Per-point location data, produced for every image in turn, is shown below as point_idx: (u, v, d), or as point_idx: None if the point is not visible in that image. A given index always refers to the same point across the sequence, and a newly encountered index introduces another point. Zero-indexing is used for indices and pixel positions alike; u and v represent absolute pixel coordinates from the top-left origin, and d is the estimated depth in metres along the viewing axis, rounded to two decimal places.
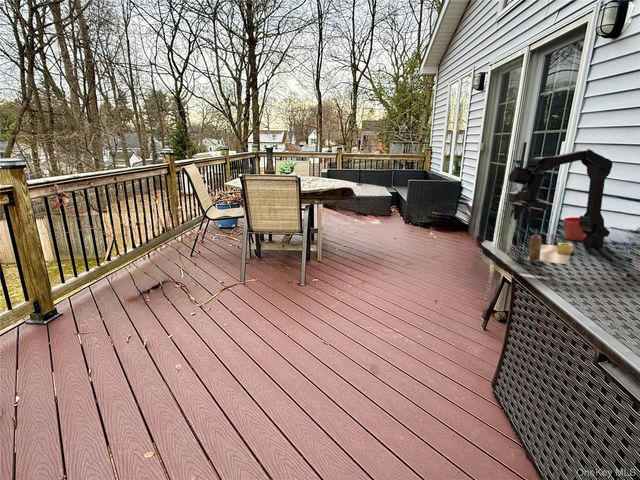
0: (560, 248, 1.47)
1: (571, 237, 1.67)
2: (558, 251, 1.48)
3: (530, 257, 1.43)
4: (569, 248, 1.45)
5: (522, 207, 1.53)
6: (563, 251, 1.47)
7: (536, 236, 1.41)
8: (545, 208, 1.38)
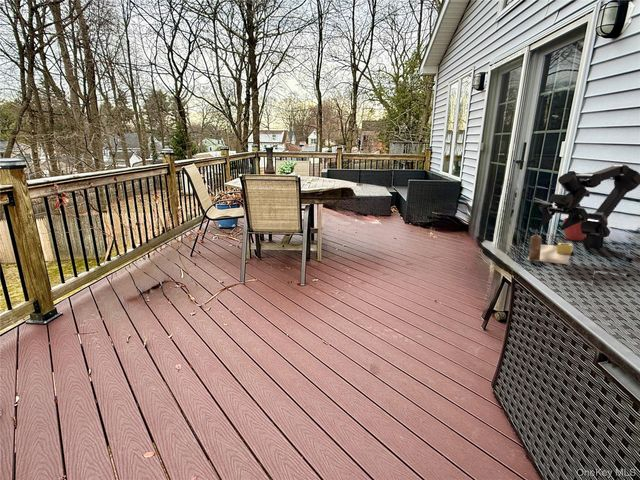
0: (560, 248, 1.47)
1: (571, 237, 1.67)
2: (558, 251, 1.48)
3: (530, 257, 1.43)
4: (569, 248, 1.45)
5: (550, 217, 1.48)
6: (563, 251, 1.47)
7: (536, 236, 1.41)
8: (586, 219, 1.35)
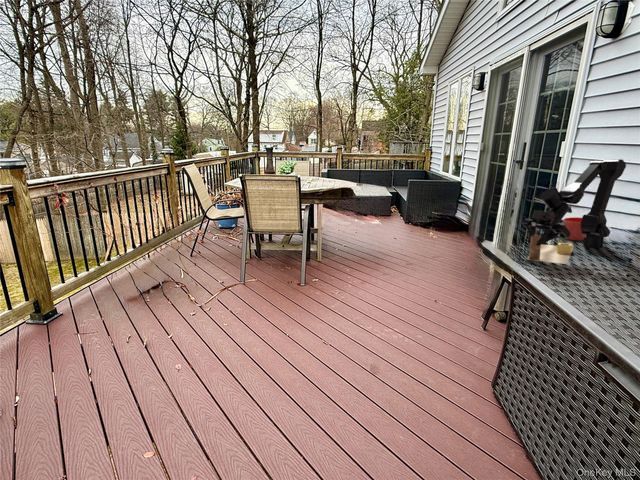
0: (560, 248, 1.47)
1: (571, 237, 1.67)
2: (558, 251, 1.48)
3: (530, 257, 1.43)
4: (569, 248, 1.45)
5: (538, 234, 1.45)
6: (563, 251, 1.47)
7: (536, 236, 1.41)
8: (568, 236, 1.34)
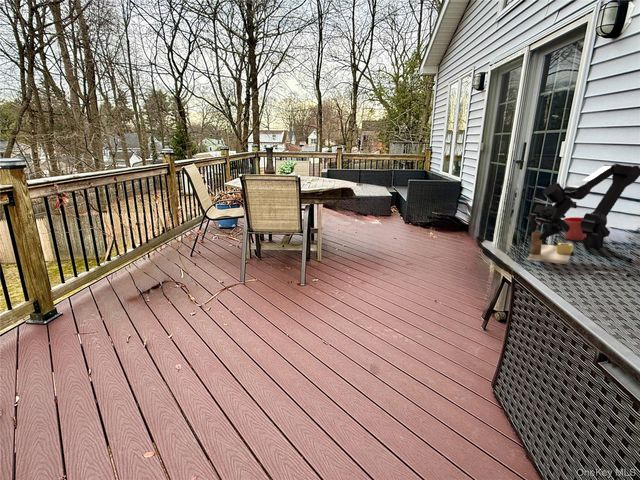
0: (560, 248, 1.47)
1: (571, 237, 1.67)
2: (558, 251, 1.48)
3: (531, 252, 1.49)
4: (569, 248, 1.45)
5: (539, 227, 1.51)
6: (563, 251, 1.47)
7: (537, 232, 1.46)
8: (567, 230, 1.38)
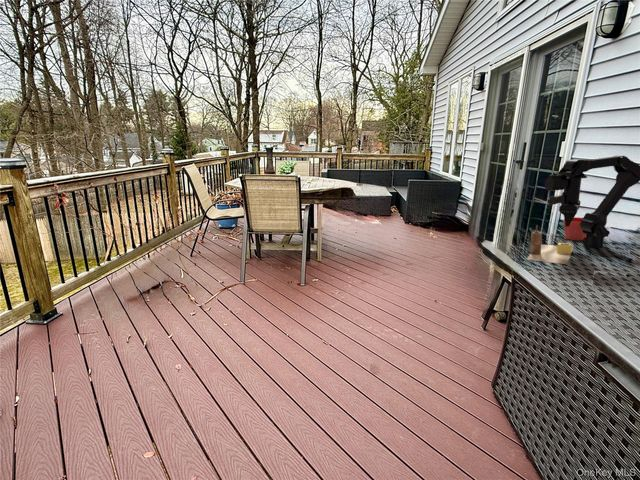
0: (560, 248, 1.47)
1: (571, 237, 1.67)
2: (558, 251, 1.48)
3: (531, 252, 1.49)
4: (569, 248, 1.45)
5: None
6: (563, 251, 1.47)
7: (536, 232, 1.46)
8: (573, 210, 1.40)
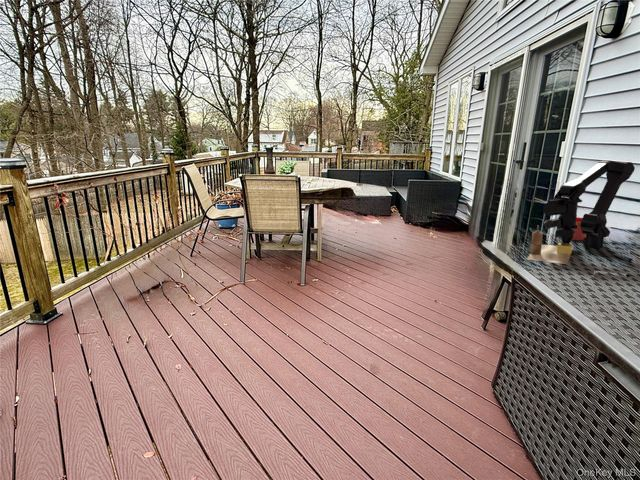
0: (560, 248, 1.47)
1: None
2: (558, 252, 1.47)
3: (531, 252, 1.49)
4: (569, 249, 1.45)
5: None
6: (563, 252, 1.46)
7: (537, 232, 1.46)
8: (569, 236, 1.40)
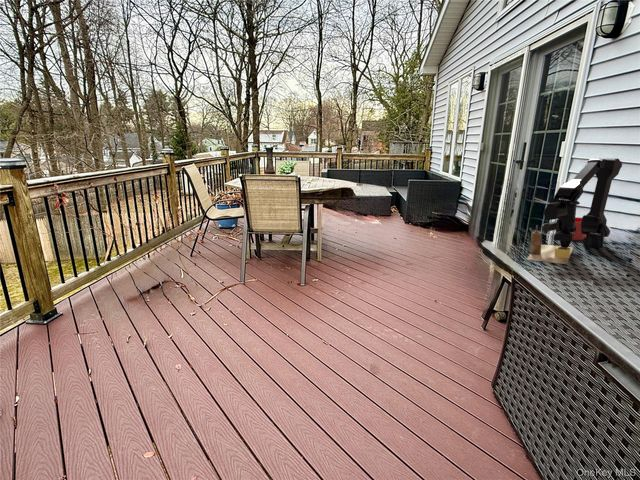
0: (558, 252, 1.42)
1: None
2: (555, 255, 1.43)
3: (531, 252, 1.49)
4: (567, 252, 1.40)
5: None
6: (561, 255, 1.42)
7: (536, 232, 1.46)
8: (568, 239, 1.36)
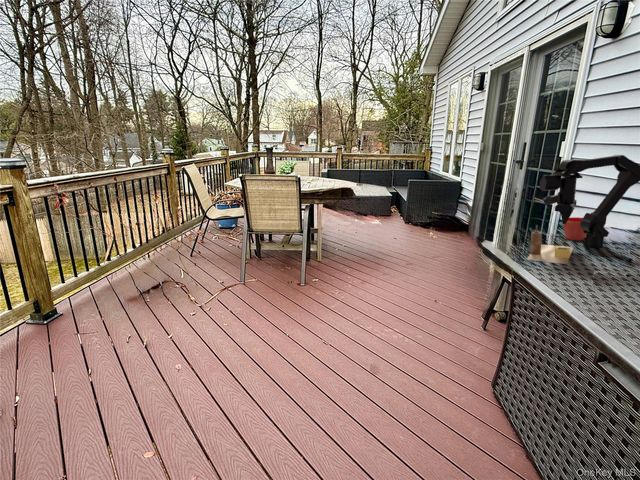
0: (558, 252, 1.42)
1: (571, 237, 1.67)
2: (555, 255, 1.43)
3: (531, 252, 1.49)
4: (567, 252, 1.40)
5: None
6: (561, 255, 1.42)
7: (536, 232, 1.46)
8: (569, 210, 1.42)
